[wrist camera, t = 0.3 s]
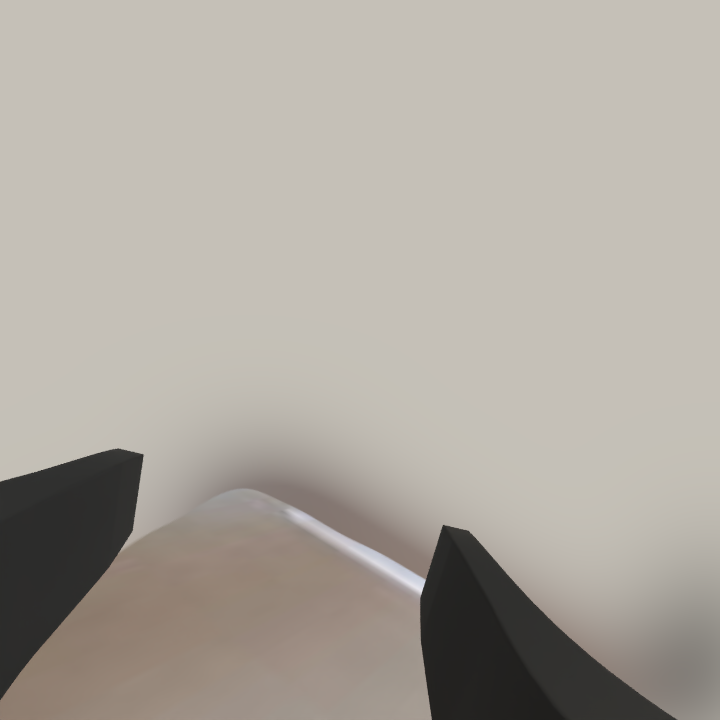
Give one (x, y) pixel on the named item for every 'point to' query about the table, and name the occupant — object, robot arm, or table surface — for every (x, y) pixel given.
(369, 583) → the table surface
